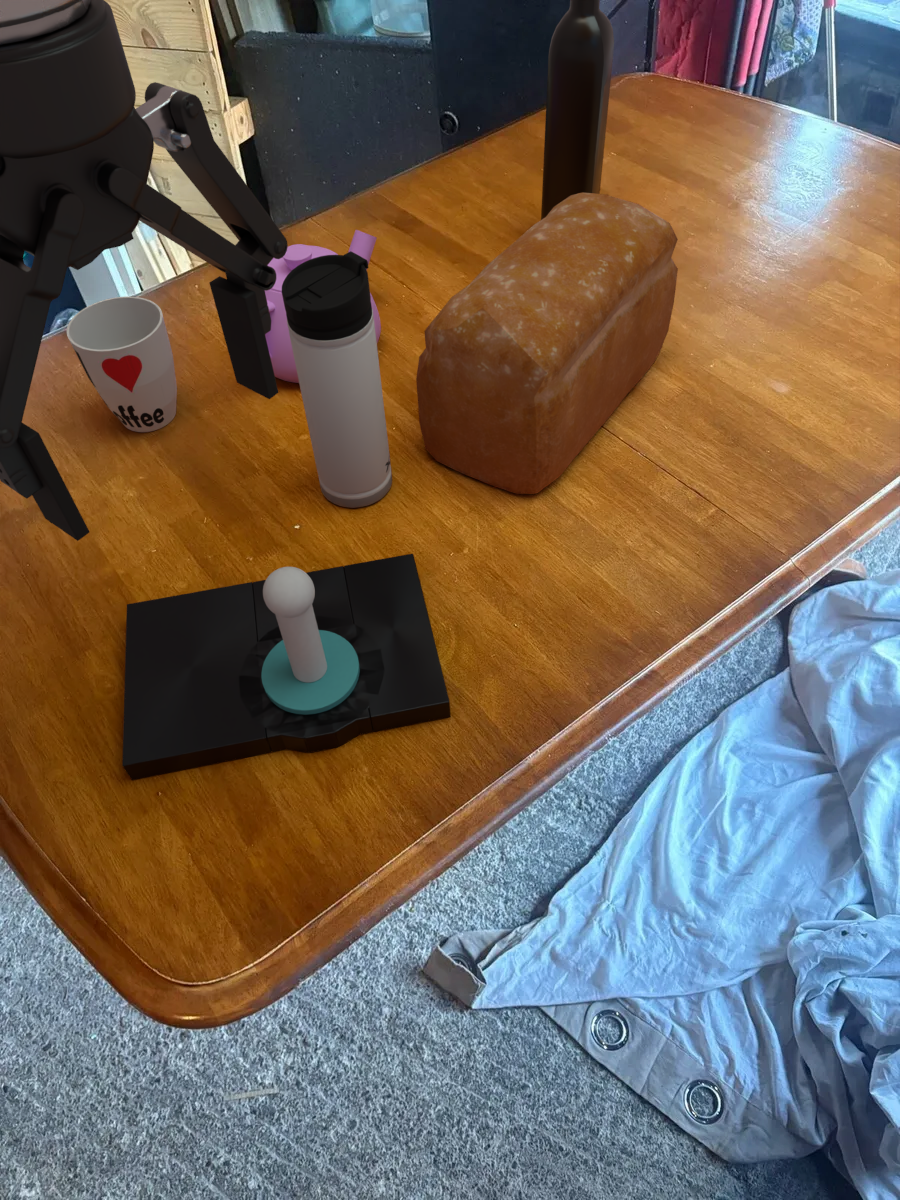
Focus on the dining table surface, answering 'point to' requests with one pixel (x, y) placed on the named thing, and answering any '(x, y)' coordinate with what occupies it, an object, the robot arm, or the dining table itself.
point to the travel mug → (339, 376)
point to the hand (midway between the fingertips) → (169, 452)
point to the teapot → (279, 331)
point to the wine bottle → (576, 103)
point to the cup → (128, 360)
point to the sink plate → (236, 656)
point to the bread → (547, 342)
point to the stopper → (304, 650)
